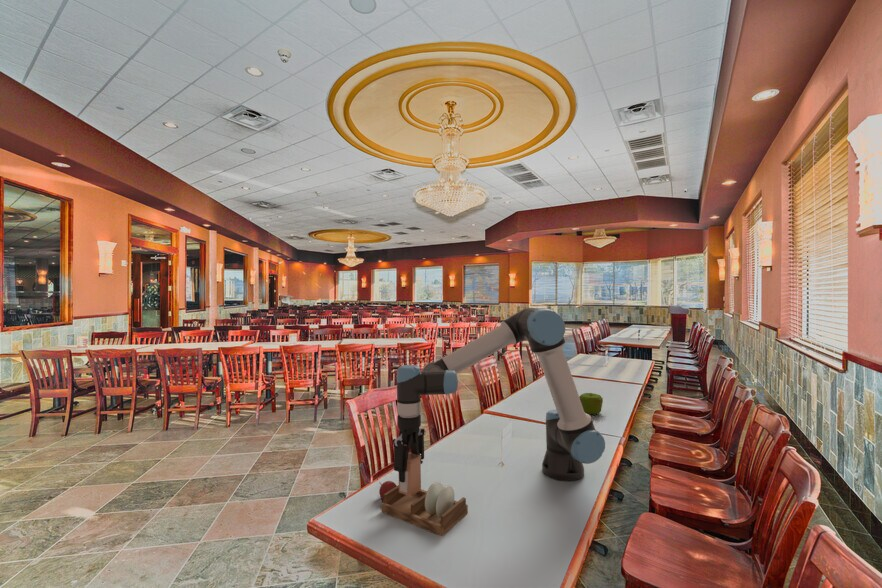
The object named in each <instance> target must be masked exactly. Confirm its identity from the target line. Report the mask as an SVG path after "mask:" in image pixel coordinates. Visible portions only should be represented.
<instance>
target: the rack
mask: <svg viewBox="0 0 882 588" xmlns="http://www.w3.org/2000/svg"><path fill="white" fill-rule="evenodd" d="M427 491H428V490H425V489H422V488H421V490H420V491H419V492H417V493H416V494H414V495H413V496H408V495H405V494H402V493H399V484H397V486H396V487H395V488H393V489H391V490H390V491H388V492H387V493H385V494H384V500H383V502H382V503H381V513H384V514H386V515H389V516H391V517H393V518H395V519H397V520H398V519H399V520H401V521H403V522H406V523H408V524H410V525H413V526H415V527H418V528H420V529H423V530H425V531H427V532H430V533H432V534H435V535H437V536H440V537H443V536H444V535H445V534H447V533H448V531H450V530H451V529H452V528H453V527H454V526H455V525H456V524H458V522H459V521H461V520H462V519H463V518H464V517H465V516H466V515H468V512H469V510H468V509H469V506H468V504H467V503H466V502H467V498H466V497H461V498H460V499H459V500H458V501H457V500H455V499H454V504H453V506H452V507H451V508H450V509H448V510H447V511H446V512H445V513H444V514H442V515H441V518H439V517H438V516H437V514H434V515H430V514H428V513H427V512H426V510H425V497H426V494H427Z"/></svg>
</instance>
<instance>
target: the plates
mask: <svg viewBox="0 0 882 588" xmlns="http://www.w3.org/2000/svg"><path fill="white" fill-rule="evenodd" d="M426 491H427V494H426V497H425V510H426V512H427V513H428V514H430V515H434V514H437V516H438V517H439V518H441V515H442V514H444V513H445V512H446V511H447V510H448V509H450V508H451V507H452V506H453V504H454V500H455V490H454V488H453V487H452V486H450V485H445V486H443V483H441V482H439V481H434V482H433V483H432V484H431V485H430V486H429V487H428V489H427V490H426Z"/></svg>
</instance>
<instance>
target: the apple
mask: <svg viewBox="0 0 882 588" xmlns="http://www.w3.org/2000/svg"><path fill="white" fill-rule="evenodd" d="M579 398H580V401H581V404H582V407H583V410H584V412H585V413H586V414H589V415H590V416H591V415H592V416H595V415H599V414H600V413H601V411H602V408H603V399H604V398H603V397H602V396H601V394H597V393H592V392H585V393H581V394H580V395H579Z"/></svg>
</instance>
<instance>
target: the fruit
mask: <svg viewBox="0 0 882 588" xmlns="http://www.w3.org/2000/svg"><path fill="white" fill-rule="evenodd" d="M376 481H379V480H378V478H376ZM379 485H380V487H379V489H378V490H379V491H378V493H379V494H378V495H379V497H380V498H381V499H382V500H383V501H384V494H385V493H387V492H388V491H390V490H391V489H393V488H395V487H396V486H398V484H396V483H395V482H394V481H391V480H387V481H384V482H383V483H381V482H380V481H379Z"/></svg>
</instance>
